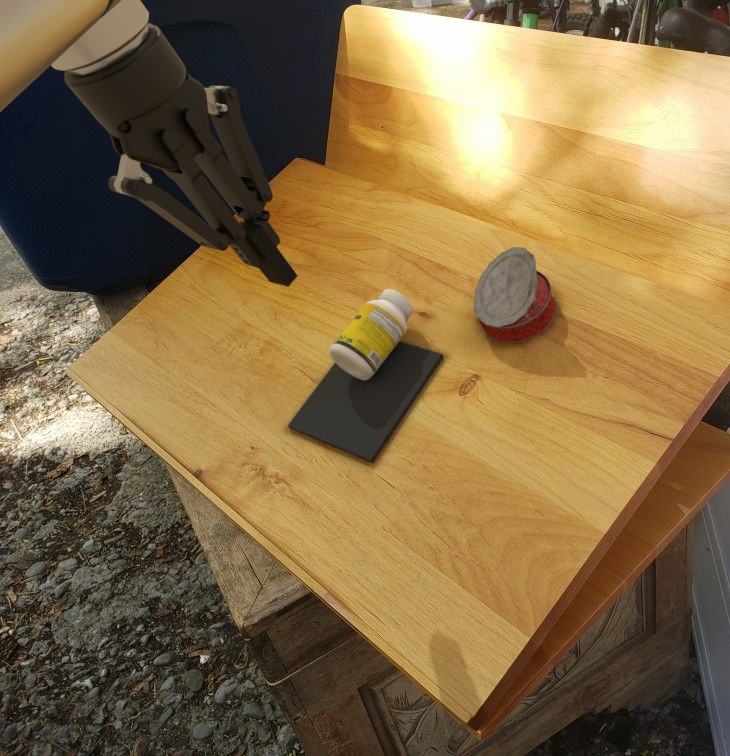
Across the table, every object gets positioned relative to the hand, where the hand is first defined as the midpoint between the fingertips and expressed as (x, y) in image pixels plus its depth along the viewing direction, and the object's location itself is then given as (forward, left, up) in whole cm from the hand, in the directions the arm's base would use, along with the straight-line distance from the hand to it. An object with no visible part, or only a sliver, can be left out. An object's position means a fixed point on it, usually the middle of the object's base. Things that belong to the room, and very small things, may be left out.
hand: (283, 278), depth 66 cm
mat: (+1, +3, -22) cm, 23 cm away
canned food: (+18, -10, -23) cm, 31 cm away
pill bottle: (+2, +5, -19) cm, 19 cm away
